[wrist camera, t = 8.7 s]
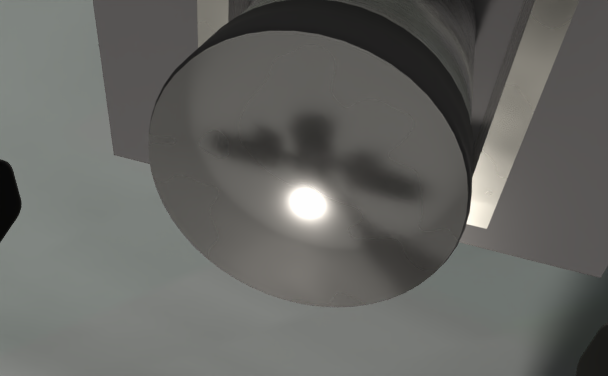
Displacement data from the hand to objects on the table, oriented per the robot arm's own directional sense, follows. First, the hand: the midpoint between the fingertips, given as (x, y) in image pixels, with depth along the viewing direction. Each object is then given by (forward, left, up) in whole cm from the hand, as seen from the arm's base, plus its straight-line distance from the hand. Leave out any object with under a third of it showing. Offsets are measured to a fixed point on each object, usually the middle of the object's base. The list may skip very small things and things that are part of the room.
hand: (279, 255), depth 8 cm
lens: (0, -1, -8) cm, 8 cm away
